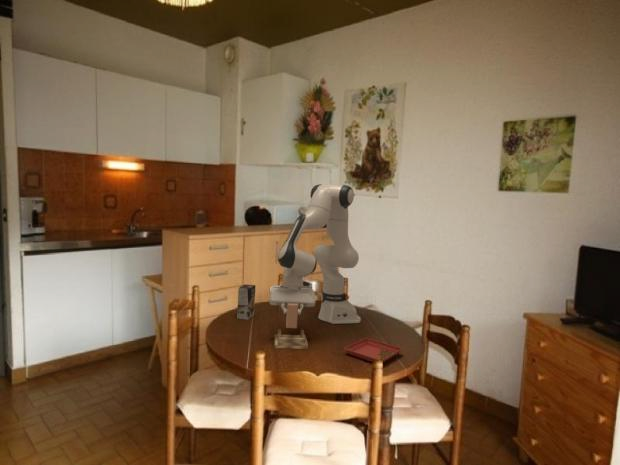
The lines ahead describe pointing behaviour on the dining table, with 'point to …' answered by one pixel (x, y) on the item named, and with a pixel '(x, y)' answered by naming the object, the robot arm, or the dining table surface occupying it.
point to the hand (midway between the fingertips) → (292, 313)
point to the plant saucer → (371, 349)
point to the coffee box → (246, 302)
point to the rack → (291, 341)
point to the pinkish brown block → (292, 315)
